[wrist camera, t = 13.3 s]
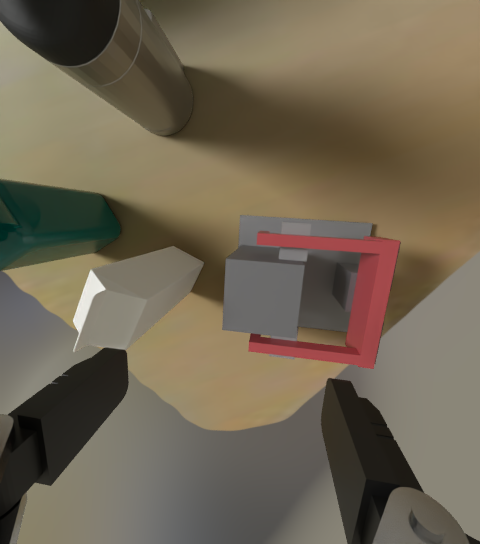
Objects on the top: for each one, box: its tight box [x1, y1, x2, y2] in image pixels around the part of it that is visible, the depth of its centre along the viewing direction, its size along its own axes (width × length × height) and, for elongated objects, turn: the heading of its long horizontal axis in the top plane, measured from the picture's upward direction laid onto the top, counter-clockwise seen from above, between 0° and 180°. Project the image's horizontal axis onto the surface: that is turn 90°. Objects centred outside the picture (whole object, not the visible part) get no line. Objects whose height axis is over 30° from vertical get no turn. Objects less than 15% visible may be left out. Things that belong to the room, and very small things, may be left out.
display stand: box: [222, 215, 372, 359], centre depth 32 cm, size 19×17×14 cm
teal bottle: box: [0, 179, 121, 271], centre depth 30 cm, size 10×8×22 cm
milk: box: [73, 246, 204, 352], centre depth 30 cm, size 6×6×22 cm
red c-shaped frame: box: [249, 231, 401, 369], centre depth 28 cm, size 14×14×5 cm
